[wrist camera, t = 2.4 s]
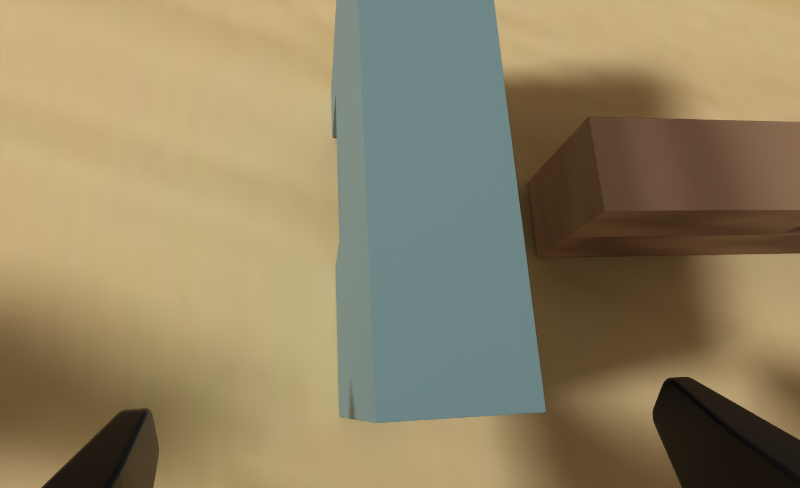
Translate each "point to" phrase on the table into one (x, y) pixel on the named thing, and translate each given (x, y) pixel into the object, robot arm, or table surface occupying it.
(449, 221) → the teal slotted plate
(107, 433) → the robot arm
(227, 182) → the table surface
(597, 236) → the walnut slotted rail
